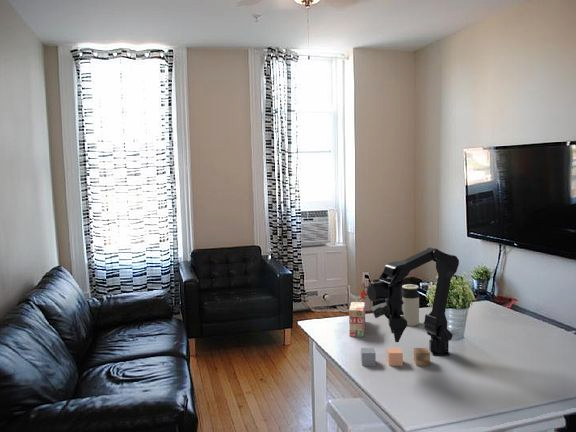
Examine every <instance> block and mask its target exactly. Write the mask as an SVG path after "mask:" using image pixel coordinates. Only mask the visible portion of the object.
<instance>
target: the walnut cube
mask: <svg viewBox="0 0 576 432" xmlns="http://www.w3.org/2000/svg"><path fill="white" fill-rule="evenodd" d="M413 361H414V363H415V366H416V367H417V366H418V367H419V366H420V367H423V366H425V367H427V366H428V367H430V366H431V352H430V350H429V348H428V347H413Z"/></svg>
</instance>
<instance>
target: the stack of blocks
mask: <svg viewBox="0 0 576 432" xmlns="http://www.w3.org/2000/svg"><path fill="white" fill-rule="evenodd" d="M348 319H349V321H348V322H349V337H350V336H353V337H352V338H354V337H356V338H363V337H364V336H365V326H366V303H365V302H363V301H352V302H350V306H349V309H348Z"/></svg>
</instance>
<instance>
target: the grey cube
mask: <svg viewBox="0 0 576 432" xmlns="http://www.w3.org/2000/svg"><path fill="white" fill-rule="evenodd" d="M360 361H361V366H365V367H366V366H368V367H370V366H371V367H372V366H374V367H376V362H377V361H376V350H375V347H360Z"/></svg>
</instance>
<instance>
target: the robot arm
mask: <svg viewBox="0 0 576 432" xmlns="http://www.w3.org/2000/svg"><path fill="white" fill-rule="evenodd" d="M432 261H433V262H434V263H435V269H436V273H437V280H436V286H435V291H434V296H433V297H434V298H433V303H432V307H431V308H432V309H431V312H429V313H428V314H427V313H426V314H425V316H424V322H423V323H422V324H423V325H424V330H425V331H426V333H427V336H430V339H429V341H428V344H429V345H428V346H429V348H428V350H429V352H430V354H432V356H450V352H449V341H452V340H453V336H454V334H453V333H452V332H451V331H450V330H449V329H448V320H447V317H446V309H447V304H448V299H449V292H450V289H451V288H450V287H451V281H452V278H453V276H454V275H456V273H457V271H458V267H459V265H460V259H459V258H458V256H456V255H453V254H449V253H446V252H443V251H442V250H440V249H438V248H434V247H427V248H425V249H424V250H422V251H420V252H418V253H416V254H414V255H411V256H409V257H408V258H406V259H404V260H396V261H391V262H388V263H386V264H385V266H384V269H383V271H382V272H381V273H380V276H379V277H378V279H377V281H371V282H370V285H369V286H368V288H367V291H366V292H367V293H366V294H367V297H368V299H369V300H370V301H371V302H375V301H383V300H384V301H385V302H382V303H379V304H376V305H373V306H371V311H372V314H373V316H374V318H375V319H378V318H379V317H381V316H384V317H386V319H388V326H389V329H390V332H391V333H390V334H393V337H394V342H395V343H399V342H400V340H401V338H402V335H403V333H404V331H405V330H406V329H407V327H408V326H407V320H406V318H405V317H403V316H402V315H404V312H403V305H402V304H403V300H402V291H403V287H402V286H403V285H407V284H408V282H407V281H406V280H405V278H407V277H408V275H409V274H410V273H411V272H412V271H414V270H415V269H417V268H419V267H421V266H423V265H425V264H428V263H430V262H432Z"/></svg>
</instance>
